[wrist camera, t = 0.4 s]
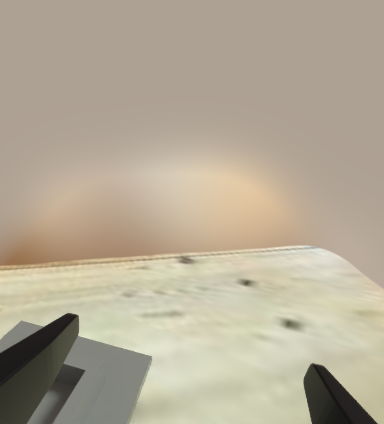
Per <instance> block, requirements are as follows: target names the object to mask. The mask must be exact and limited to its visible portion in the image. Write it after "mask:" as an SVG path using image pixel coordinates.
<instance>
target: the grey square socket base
mask: <svg viewBox="0 0 384 424" xmlns="http://www.w3.org/2000/svg"><path fill="white" fill-rule="evenodd" d="M41 328H43V326H39V325H35V324H32V323H28V322H24V321H21V322H19V323H18V324H17V325H16V326H15V327H14V328H13V329H12V330H11V331H10V332H8V333H7V334H6V335H5V336H4V337H3V338H2V339H1V340H0V353H1V352H2V351H4V350H6V349H7V348H9V347H11V346H12V345H14V344H16V343H18V342H19V341H21V340H23V339H24V338H26V337H28V336H29V335H31V334H33V333H34V332H36V331H38V330H40V329H41ZM151 362H152V356H148V355H145V354H141V353H137V352H134V351H130V350H126V349H123V348H119V347H115V346H112V345H108V344H105V343H101V342H97V341H94V340H90V339H86V338H83V337H79V336H77V338H76V340H75V342H74V344H73V346H72V348H71V350H70V352H69V354H68V356H67V357H66V359H65V361H64V363H63V365H62V367H61V369H60V371H59V373H58V375H57V376H56V378H55V380H54V382H53V383H52V385H51V387H50V388H49V390H48V391H47V393H46V395H45V396H44V398H43V399H42V401H41V402H40V404H39V406H38V407H37V409H36V410H35V412H34V413H33V415H32V417H31V418H30V420H29V421H28V423H27V424H129V422H130V419H131V416H132V413H133V411H134V408H135V405H136V403H137V400H138V397H139V395H140V392H141V389H142V386H143V384H144V381H145V378H146V376H147V373H148V370H149V368H150V365H151Z"/></svg>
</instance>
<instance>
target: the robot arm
mask: <svg viewBox="0 0 384 424" xmlns="http://www.w3.org/2000/svg"><path fill="white" fill-rule="evenodd" d="M78 333H79V316H78V315H76V314H71V313H67V314H65V315H63V316H62V317H60V318H58V319H57V320H55V321H53V322H51V323H50V324H48V325H46V326H45V327H43V328H41V329H40V330H38V331H36V332H34V333H33V334H31V335H29V336H28V337H26V338H24V339H23V340H21V341H19V342H18V343H16V344H14V345H12V346H11V347H9V348H7V349H6V350H4V351H2V352H1V353H0V424H27V423H28V421H29V420H30V418H31V417H32V415H33V413H34V412H35V410H36V409H37V407H38V406H39V404H40V402H41V401H42V399H43V398H44V396H45V395H46V393H47V391H48V390H49V388H50V387H51V385H52V383H53V382H54V380H55V378H56V376H57V375H58V373H59V371H60V369H61V367H62V365H63V363H64V361H65V359H66V357H67V356H68V354H69V352H70V350H71V348H72V346H73V344H74V342H75V340H76V338H77V336H78ZM304 389H305V393H306V398H307V403H308V407H309V412H310V417H311V422H312V424H377V423H376V421H375V420H374V419H373V418H372V417H371V416H370V415H369V414H368V413H367V412H366V411H365V410H364V409H363V407H362V406H361V405H360V404H359V403H358V402H357V401H356V400H355V399H354V398H353V397H352V396H351V395H350V394H349V392H348V391H347V390H346V389H345V388H344V387H343V386H342V385H341V384H340V383H339V382H338V381H337V380H336V378H335V377H334V376H333V375H332V374H331V373H330V372H329V371H328V370H327V369H326V368H325V367H324V366H322V365H319V364H314V363H312V364H310V366H309V368H308V370H307V372H306V374H305V377H304Z"/></svg>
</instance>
